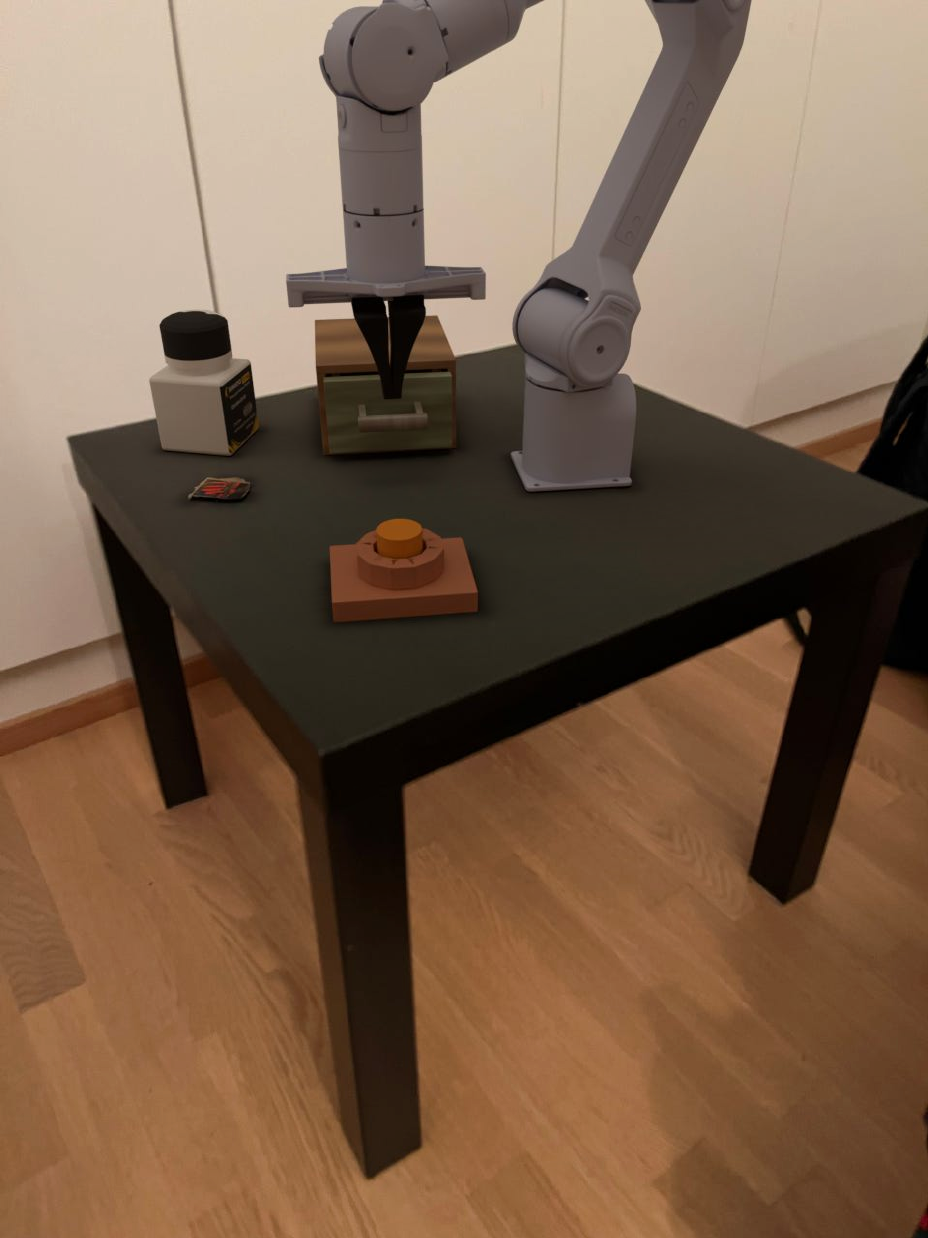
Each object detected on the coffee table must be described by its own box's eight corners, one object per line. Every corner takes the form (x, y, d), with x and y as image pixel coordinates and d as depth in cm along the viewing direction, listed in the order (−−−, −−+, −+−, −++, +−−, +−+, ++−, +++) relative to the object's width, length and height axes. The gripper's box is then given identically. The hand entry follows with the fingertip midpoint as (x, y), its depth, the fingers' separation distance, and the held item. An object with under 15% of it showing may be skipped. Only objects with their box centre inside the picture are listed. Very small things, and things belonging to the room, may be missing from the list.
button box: (462, 556, 72) (462, 515, 70) (477, 612, 65) (478, 569, 63) (331, 565, 70) (327, 523, 69) (333, 623, 64) (329, 579, 62)
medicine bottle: (231, 457, 87) (212, 328, 81) (160, 451, 88) (136, 323, 82) (260, 428, 93) (245, 306, 86) (193, 423, 94) (173, 302, 88)
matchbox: (248, 501, 79) (247, 496, 79) (186, 504, 79) (185, 499, 78) (252, 478, 83) (252, 473, 83) (194, 480, 83) (193, 475, 82)
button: (420, 538, 68) (419, 516, 67) (424, 560, 65) (424, 538, 64) (376, 541, 67) (374, 519, 66) (378, 563, 65) (377, 541, 64)
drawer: (459, 467, 83) (459, 393, 79) (330, 474, 82) (324, 400, 78) (436, 396, 98) (435, 331, 94) (327, 401, 97) (321, 336, 93)
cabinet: (456, 448, 89) (456, 359, 84) (323, 455, 88) (315, 365, 83) (438, 395, 101) (437, 314, 96) (321, 400, 100) (314, 319, 95)
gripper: (278, 222, 62) (298, 418, 69) (494, 216, 63) (491, 407, 71) (279, 203, 67) (298, 386, 75) (477, 198, 69) (476, 377, 77)
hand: (391, 394), depth 73 cm, fingers closed
